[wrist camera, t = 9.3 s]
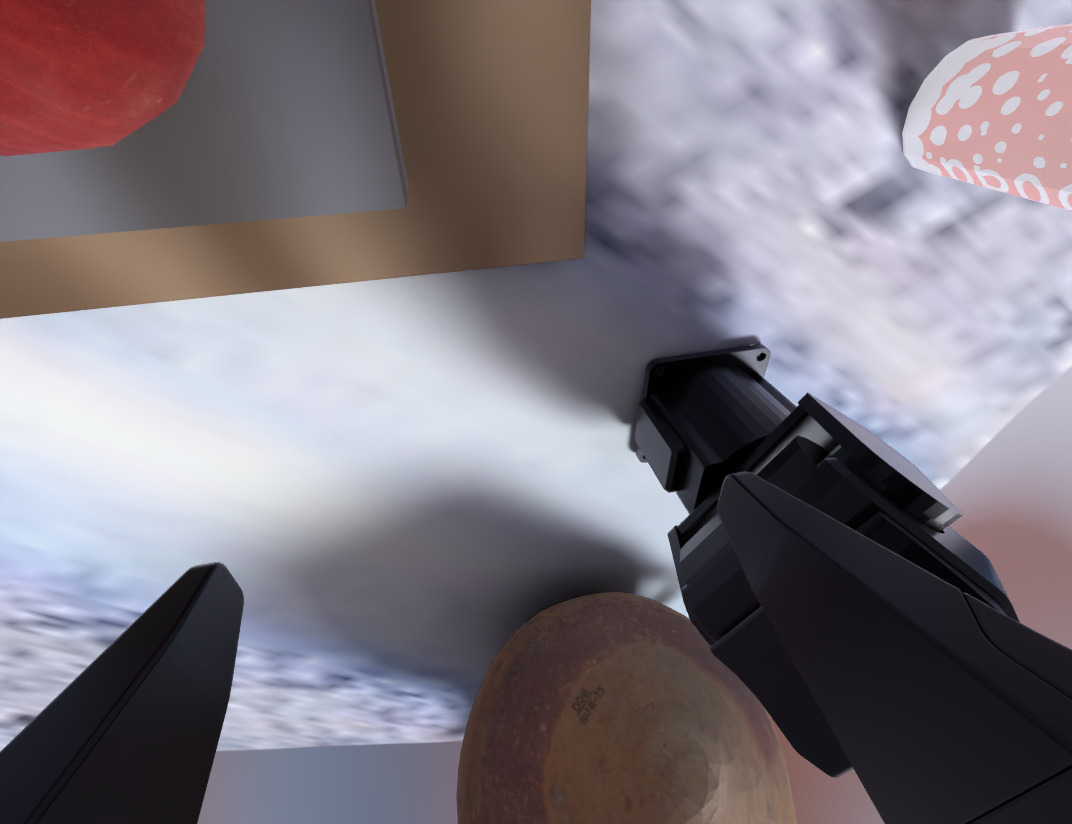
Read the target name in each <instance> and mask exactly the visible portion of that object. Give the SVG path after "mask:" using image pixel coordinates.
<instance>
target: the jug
mask: <svg viewBox="0 0 1072 824" xmlns="http://www.w3.org/2000/svg"><path fill="white" fill-rule="evenodd" d="M710 647H711V646H710V645H709V644H708V643H707V641H706V640H705V639H704V638H703V637H702V635H701V634H700V633H699V631H698V630H697V628H696V627H695V626H694V625H693V624H692V622H691V621H690V619H689V618H687V617H686V616H684V615H682V614H681V613H679V612H677V611H675V610H673V609H671V608H669V607H667V606H665V605H663V604H661V603H658V602H656V601H653V600H651V599H647V598H644V597H641V596H637V595H633V594H629V593H625V592H606V593H597V594H591V595H585V596H581V597H577V598H573V599H569V600H567V601H564V602H561V603H558V604H556V605H553V606H551V607H549V608H547V609H545V610H543V611H541V612H540V613H538V614H536V615H535V616H534V617H532V618H531V619H530V620H528V621H527V622H526V623H525V624H523V625H522V626H521V627H520V628H518V630H517V631H516V632H515V633H514V634H513V635H512V636H511V637H510V638H509V639H508V640H507V641H506V643H505V644H504V645H503V646H502V648H501V649H500V650H499V652H498V654H497V655H496V657H495V658H494V660H493V662H492V663H491V665H490V667H489V669H488V672H487V674H486V676H485V678H484V680H483V682H482V685H481V687H480V690H479V692H478V695H477V697H476V700H475V703H474V705H473V708H472V711H471V714H470V717H469V720H468V724H467V727H466V731H465V735H464V739H463V744H462V749H461V754H460V761H459V769H458V782H457V814H458V824H796V816H795V810H794V803H793V798H792V793H791V788H790V783H789V777H788V772H787V767H786V762H785V759H784V756H783V752H782V749H781V746H780V743H779V740H778V737H777V734H776V731H775V728H774V726H773V723H772V721H771V719H770V716H769V714H768V712H767V710H766V709H765V708H764V706H763V705H762V704H761V703H760V701H759V700H758V699H757V697H756V696H755V695H754V694H753V693H752V692H751V691H750V689H749V688H748V687H747V686H746V685H745V684H744V683H743V682H742V681H741V680H740V679H739V677H738V676H737V675H736V674H735V673H734V672H732V671H731V670H730V669H729V668H728V667H727V666H725V665H724V664H723V663H722V662H721V661H720V660H719V659H717V658H716V657H715V656H714V655H713V654H712V652H711V650H710Z"/></svg>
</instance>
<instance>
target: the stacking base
mask: <svg viewBox="0 0 1072 824" xmlns="http://www.w3.org/2000/svg"><path fill="white" fill-rule="evenodd" d="M590 14H591V0H205V46H204V48H203V50H202V52H201V54H200V56H199V58H198V61H197V63H196V65H195V67H194V69H193V71H192V73H191V75H190V77H189V79H188V81H187V83H186V85H185V87H184V89H183V91H182V93H181V95H180V97H179V99H178V101H177V102H176V103H175V104H173V105H172V106H171V107H169V108H168V109H167V110H165V111H164V112H162V113H161V114H159V115H158V116H156V117H155V118H153V119H152V120H150V121H149V122H147V123H146V124H144V125H143V126H141V127H140V128H138V129H137V130H135V131H134V132H132V133H131V134H129V135H128V136H126V137H125V138H123V139H122V140H120V141H119V142H117V143H116V144H114V145H112V146H105V147H97V148H90V149H81V150H70V151H59V152H48V153H37V154H26V155H15V156H2V155H0V319H1V318H11V317H21V316H30V315H40V314H50V313H59V312H69V311H79V310H88V309H98V308H108V307H117V306H127V305H137V304H146V303H156V302H166V301H175V300H185V299H195V298H204V297H214V296H224V295H233V294H243V293H252V292H262V291H272V290H281V289H291V288H301V287H310V286H320V285H330V284H339V283H349V282H359V281H368V280H378V279H388V278H397V277H407V276H417V275H426V274H436V273H446V272H455V271H465V270H475V269H484V268H494V267H504V266H513V265H523V264H533V263H542V262H552V261H562V260H571V259H581V258H584V240H585V202H586V164H587V127H588V89H589V51H590Z"/></svg>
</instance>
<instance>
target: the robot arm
mask: <svg viewBox="0 0 1072 824" xmlns="http://www.w3.org/2000/svg"><path fill="white" fill-rule="evenodd" d="M760 353H761V354H760ZM770 353H771V352H770V350H769V349H768V348H766V347H765V346H763V345H753V346H746V347H739V348H731V349H724V350H717V351H710V352H703V353H695V354H688V355H681V356H674V357H667V358H659V359H655V360H652V361H651V362H650V363H649V364H648V365H647V368H646V375H645V383H644V391H643V399H642V400H641V401H640V403H639V405H638V413H637V422H636V430H635V441H636V443H637V448H636V456H637V457H638V459H639V460H640V462H648V463H649V465H650V466H651V468H652V470H653V471H654V473H655V475H656V477H657V478H658V480H659V482H660V483H661V485H662V487H663V488H664V489H665V490H666V491H667V492H669V493H670V492H676V493H677V495H678V497H679V498H680V500H681V501H682V503H683V505H684V506H685V508H686V509H687V511H688V513H689V514H690V515H689V516H688V517H687V518H686V519H685V520H684V521H683V522H682V523H681V524H680V525H679V526H675V527H674V528H673V529H672V530H671V531H670V532H669V533H668V538H669V542H670V546H671V551H672V555H673V559H674V563H675V567H676V572H677V576H678V580H679V584H680V588H681V593H682V597H683V601H684V604H685V607H686V610H687V613H688V615H689V618H690V621H691V622H692V624H693V625H694V626H695V627H696V628H697V630H698V631H699V633H700V634H701V635H702V637H703V638H704V639H705V640H706V641H707V643H708V644H709V645H710V646H711V647H710V650H711V652H712V654H713V655H714V656H715V657H716V658H717V659H719V660H720V661H721V662H722V663H723V664H724V665H725V666H727V667H728V668H729V669H730V670H731V671H732V672H734V673H735V674H736V675H737V676H738V677H739V679H740V680H741V681H742V682H743V683H744V684H745V685H746V686H747V687H748V688H749V689H750V691H751V692H752V693H753V694H754V695H755V696H756V697H757V699H758V700H759V701H760V703H761V704H762V705H763V706H764V708H765V709H766V710H767V712H768V713H769V714H770V716H771V717H772V719H773V720H774V721H775V723H776V724H777V725H778V727H779V728H780V730H781V731H782V732H783V734H784V735H785V737H786V738H787V739H788V741H789V742H790V744H791V745H792V746H793V748H794V749H795V750H796V751H797V752H798V753H799V754H800V755H801V756H803V757H804V758H805V759H807V760H808V761H810V762H811V763H812V764H814V765H815V766H816V767H818V768H819V769H820V770H822V771H823V772H825V773H826V774H828V775H829V776H831V777H835V778H837V777H840V776H842V775H843V774H845V773H847V772H849V771H851V770H853V769H854V770H855V772H856V774H857V775H858V777H859V779H860V781H861V782H862V784H863V786H864V788H865V789H866V791H867V793H868V795H869V796H870V798H871V800H872V802H873V804H874V805H875V807H876V809H877V810H878V812H879V814H880V816H881V818H882V819H883V821H884V823H885V824H1072V650H1071V649H1069V648H1067V647H1065V646H1063V645H1061V644H1059V643H1057V642H1055V641H1054V640H1052V639H1049V638H1048V637H1046V636H1044V635H1042V634H1040V633H1038V632H1036V631H1034V630H1032V629H1031V628H1029V627H1027V626H1025V625H1023V624H1021V623H1020V622H1019V620H1018V617H1017V615H1016V613H1015V611H1014V609H1013V606H1012V604H1011V602H1010V600H1009V598H1008V596H1007V594H1006V592H1005V590H1004V587H1003V585H1002V584H1001V582H1000V579H999V577H998V575H997V573H996V571H995V569H994V567H993V565H992V564H991V562H990V560H989V559H988V558H987V557H986V556H985V555H984V554H983V553H982V552H981V551H980V550H978V549H977V548H976V547H975V546H973V545H972V544H971V543H970V542H968V541H967V540H966V539H965V538H963V537H962V536H961V535H960V534H959V533H957V532H956V531H955V530H954V529H952V528H951V527H950V526H949V525H950V524H952V523H953V522H954V521H956V520H957V519H958V518H960V517H961V516H962V515H963V514H962V513H961V512H960V511H959V510H958V508H957V507H956V506H954V504H952V502H951V501H949V499H948V498H947V497H945V495H944V494H943V493H942V492H941V491H940V490H939V489H938V488H937V487H936V486H935V485H934V484H933V483H932V482H931V481H930V480H929V479H928V478H927V477H926V476H925V475H924V474H923V473H922V472H921V471H920V470H919V469H918V468H917V467H916V466H915V465H914V464H913V463H911V462H910V461H909V460H908V459H906V458H905V457H904V456H902V455H901V454H900V453H898V452H897V451H896V450H894V449H893V448H892V447H890V446H889V445H888V444H886V443H885V442H884V441H882V440H881V439H880V438H878V437H877V436H876V435H874V434H873V433H872V432H870V431H869V430H868V429H866V428H865V427H863V426H861V425H860V424H858V423H856V422H855V421H853V420H852V419H850V418H848V417H847V416H845V415H843V414H842V413H840V412H839V411H837V410H835V409H834V408H832V407H830V406H829V405H827V404H826V403H824V402H822V401H821V400H819V399H817V398H816V397H814V396H813V395H811V394H809V393H807V394H806V395H805V396H804V397H803V398H802V399H801V400H800V401H799V402H798V404H799V405H798V406H797V407H796V406H795V405H794V404H793V403H792V402H790V401H789V400H788V399H787V398H786V397H785V396H784V395H782V394H781V393H780V392H779V391H778V390H777V389H775V388H774V387H773V386H772V385H771V384H770V383H769V382H767V381H766V380H765V379H764V375H765V371H766V368H767V365H768V361H769V358H770ZM759 354H760V355H759ZM758 355H759V356H758ZM757 356H758V357H757ZM659 367H660V369H659V370H658V371H657V372H654V371H655V370H656V369H657V368H659ZM243 605H244V597H243V592H242V590H241V588H240V586H239V585H238V583H237V582H236V581H235V579H234V578H233V576H232V575H231V573H230V572H229V570H228V569H227V568H226V566H225V565H224V564H222V563H220V562H214V563H208V564H202V565H197V566H194V567H192V568H190V569H189V570H188V571H186V572H185V573H184V574H183V575H182V576H181V577H180V578H179V579H178V580H177V581H176V582H175V583H174V584H173V585H172V586H171V587H170V588H169V589H168V590H167V591H166V592H165V593H164V594H163V595H162V596H161V597H159V598H158V599H157V600H156V601H155V602H154V603H153V604H152V605H151V606H150V607H149V608H148V609H147V610H146V611H145V612H144V613H143V614H142V615H141V616H140V617H139V618H138V619H137V620H136V621H135V622H134V623H133V624H132V625H131V626H130V627H129V628H127V629H126V630H125V631H124V632H123V633H122V634H121V635H120V636H119V637H118V638H117V639H116V640H115V641H114V642H113V643H112V644H111V645H110V646H109V647H108V648H107V649H106V650H105V651H104V652H103V653H102V654H101V655H100V656H99V657H98V658H97V659H95V660H94V661H93V662H92V663H91V664H90V665H89V666H88V667H87V668H86V669H85V670H84V671H83V672H82V673H81V674H80V675H79V676H78V677H77V678H76V679H75V680H74V681H73V682H72V683H71V684H70V685H69V686H68V687H67V688H66V689H65V690H63V691H62V692H61V693H60V694H59V695H58V696H57V697H56V698H55V699H54V700H53V701H52V702H51V703H50V704H49V705H48V706H47V707H46V708H45V709H44V710H43V711H42V712H41V713H40V714H39V715H38V716H37V717H36V718H35V719H34V720H33V721H31V722H30V723H29V724H28V725H27V726H26V727H25V728H24V729H23V730H22V731H21V732H20V733H19V734H18V735H17V736H16V737H15V738H14V739H13V740H12V741H11V742H10V743H9V744H8V745H7V746H6V747H5V748H4V749H3V750H2V751H1V752H0V824H197V822H198V818H199V814H200V811H201V807H202V803H203V799H204V795H205V791H206V787H207V783H208V780H209V776H210V772H211V768H212V764H213V760H214V756H215V753H216V749H217V745H218V741H219V737H220V733H221V730H222V726H223V722H224V718H225V714H226V710H227V706H228V701H229V697H230V692H231V686H232V680H233V674H234V667H235V660H236V653H237V646H238V639H239V632H240V626H241V619H242V612H243Z"/></svg>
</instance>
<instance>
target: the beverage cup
mask: <svg viewBox="0 0 1072 824" xmlns="http://www.w3.org/2000/svg"><path fill="white" fill-rule="evenodd" d="M902 137H903V152H904V155H905V157H906V158H907V160H908V161H909V163H910V164H911V166H912V167H914V168H917V169H921V170H924V171H928V172H931V173H935V174H939V175H942V176H946V177H950V178H953V179H957V180H961V181H964V182H968V183H972V184H975V185H979V186H983V187H986V188H990V189H994V190H997V191H1001V192H1005V193H1008V194H1012V195H1016V196H1019V197H1023V198H1027V199H1030V200H1034V201H1038V202H1041V203H1045V204H1049V205H1052V206H1056V207H1060V208H1063V209H1067V210H1071V211H1072V23H1070V24H1063V25H1057V26H1050V27H1043V28H1036V29H1029V30H1022V31H1015V32H1009V33H1002V34H995V35H989V36H985V37H980V38H976V39H971V40H968V41H967V42H965V43H964V44H962V45H961V46H959V47H958V48H957V49H955V50H954V51H952V52H951V53H949V54H948V55H946V56H945V57H944V58H943V59H942V60H941V62H940V63H939V64H938V65H937V66H936V67H935V68H934V70H933V71H932V72H931V73H930V74H929V75H928V76H927V78H926V79H925V80H924V82H923V83H922V85H921V87H920V89H919V91H918V92H917V94H916V96H915V98H914V100H913V101H912V103H911V105H910V107H909V110H908V114H907V117H906V121H905V125H904V129H903V132H902Z"/></svg>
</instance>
